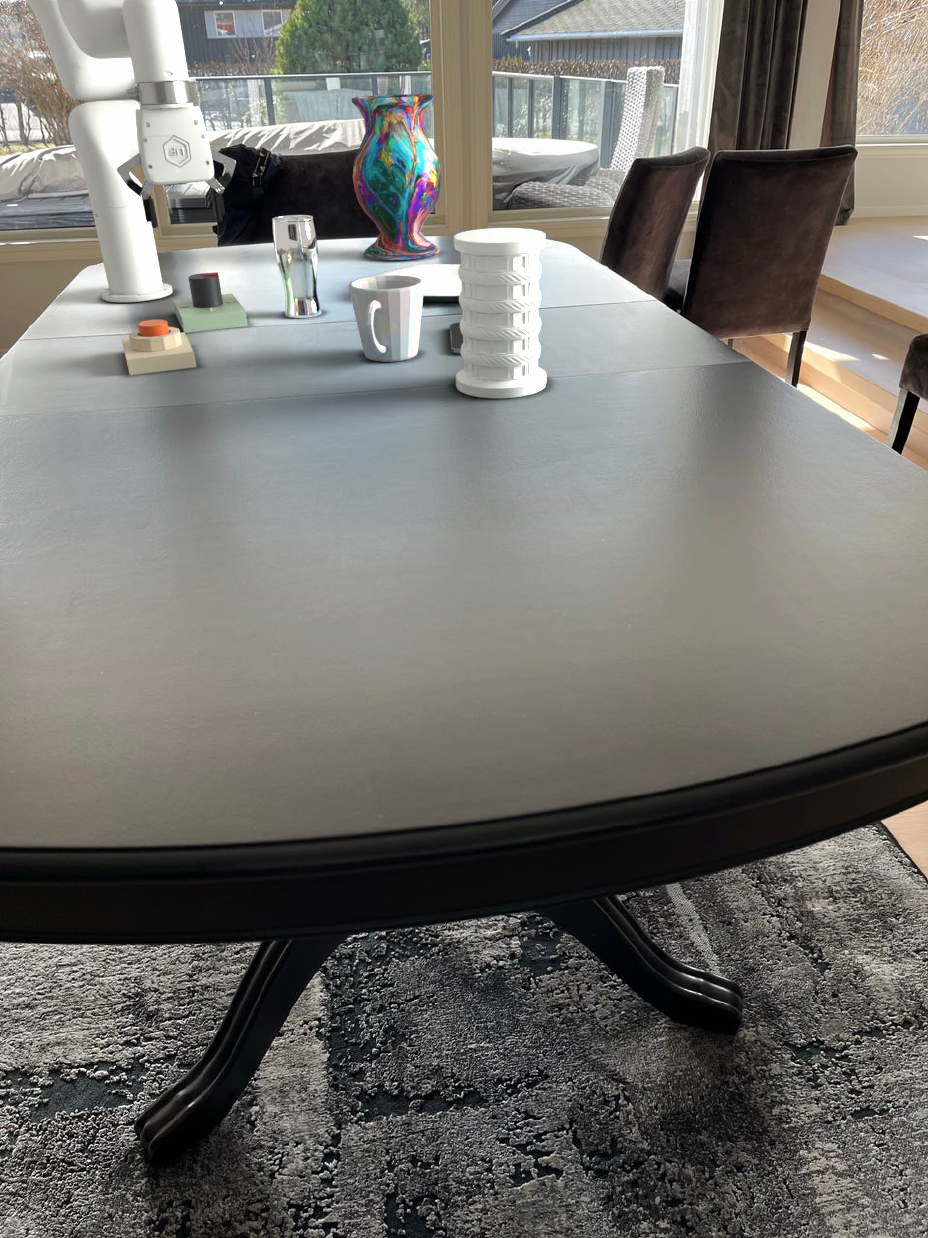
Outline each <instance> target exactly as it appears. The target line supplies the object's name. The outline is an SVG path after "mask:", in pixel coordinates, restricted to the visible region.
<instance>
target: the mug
mask: <svg viewBox="0 0 928 1238" xmlns="http://www.w3.org/2000/svg"><path fill="white" fill-rule="evenodd" d="M348 291H349V295H350V300H351V304H352V308H353V312H354V317H355V321H356V325H357V329H358V334H359V338H360V342H361V346H362V351H363V354H364V356H365V358H366V359H368V360H371V361H374V362H380V363H381V362H383V363H393V362H402V361H407V360H409V359H412V358H414V357H416V356H417V354H418V352H419V345H420V342H419V341H420V333H421V324H422V323H421V322H422V313H423V302H424V301H423V292H424V281H423V280H422V279H420V278H417V277H413V276H406V275H382V276H375V275H372V276H366V277H362V278H361V277H360V278H358V279H354V280H353V281H351V282H350V283H349V284H348Z"/></svg>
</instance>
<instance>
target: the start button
mask: <svg viewBox="0 0 928 1238" xmlns="http://www.w3.org/2000/svg"><path fill="white" fill-rule="evenodd" d="M168 327H169V325H168V321H167V320H165V319H147V320H143V321H140V322H138V323H137V328H138V330H139V333H140V336H142V337H154V336H161V335H165V334H168V333H169V330H168Z"/></svg>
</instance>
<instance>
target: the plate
mask: <svg viewBox="0 0 928 1238" xmlns="http://www.w3.org/2000/svg"><path fill="white" fill-rule="evenodd" d="M459 265H460V264H459V263H458V264H457V263H455V264H454V263H453V264H452V263H451V264H450V263H449V264H447V263H446V264H444V263H443V264H440V263H439V264H438V263H435V264H410V265H405V266H402V267H397V268H394V269H390V270H385V271H383V272H381V273H380V272H379V273H378V274H375V275H374V276H382V275H406V276H413V277H417V278H420V279H422V280H423V281H424V292H423V302H445V303H446V302H459V295H460V292H461V291H462V286H461V280H460V279H459V275H458V268H459Z"/></svg>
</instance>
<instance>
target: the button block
mask: <svg viewBox="0 0 928 1238" xmlns="http://www.w3.org/2000/svg"><path fill="white" fill-rule="evenodd" d="M168 330H169V333H168V334H165V335H161V336H154V337H142V336H140V333H139V329H136V330H134V331H132V332H129V333H128V338H122V339H121V343H122V346H123V347H122V348H123V351H124V356H125V361H126V366H127V369H128V375H129V376H137V375H142V374H151V373H159V372H166V371H167V372H168V371H175V370H183V369H192V368H193V369H194V368H197V364H196V358H195V351H194V350H193V347H192V345H191V343H190V341H189V339H188V337H187V335H186V333H184V331H183V332H181V331H180V329H179V328H178V327H174V326H168Z"/></svg>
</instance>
